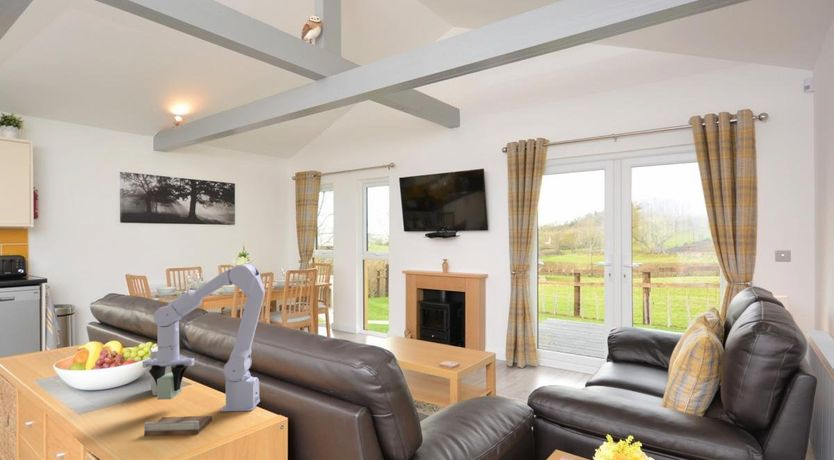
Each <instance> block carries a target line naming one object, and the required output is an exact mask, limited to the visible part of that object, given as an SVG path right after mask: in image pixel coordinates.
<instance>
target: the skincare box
mask: <svg viewBox="0 0 834 460" xmlns="http://www.w3.org/2000/svg"><path fill="white" fill-rule="evenodd" d="M149 356H150V359H158V346H154V347H150V354H149ZM151 368H152V367H150V369H151ZM167 373H172V366H166V369H165V374H167ZM150 384H151V385H150V387H151V393H152V395H153V396H157V385H156V382H155V380H154V378H153V377H152V375H151V374H150Z"/></svg>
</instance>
